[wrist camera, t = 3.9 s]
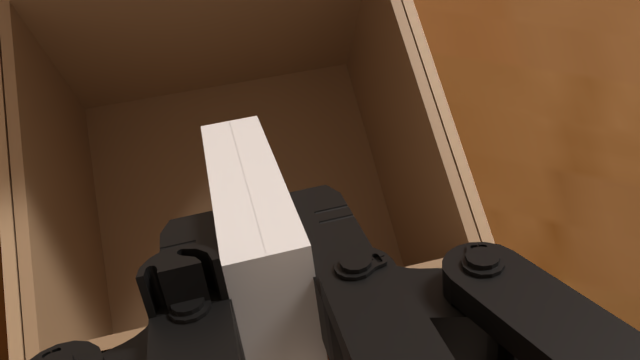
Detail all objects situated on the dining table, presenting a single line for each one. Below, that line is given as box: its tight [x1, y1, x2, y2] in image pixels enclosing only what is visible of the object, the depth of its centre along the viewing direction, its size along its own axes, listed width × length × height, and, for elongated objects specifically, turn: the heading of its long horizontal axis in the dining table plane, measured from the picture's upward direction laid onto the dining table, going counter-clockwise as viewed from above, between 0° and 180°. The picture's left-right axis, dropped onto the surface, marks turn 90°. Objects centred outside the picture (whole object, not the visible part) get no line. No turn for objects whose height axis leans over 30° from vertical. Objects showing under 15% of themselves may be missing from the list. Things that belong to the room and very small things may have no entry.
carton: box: [0, 0, 495, 360], centre depth 36 cm, size 23×21×14 cm
